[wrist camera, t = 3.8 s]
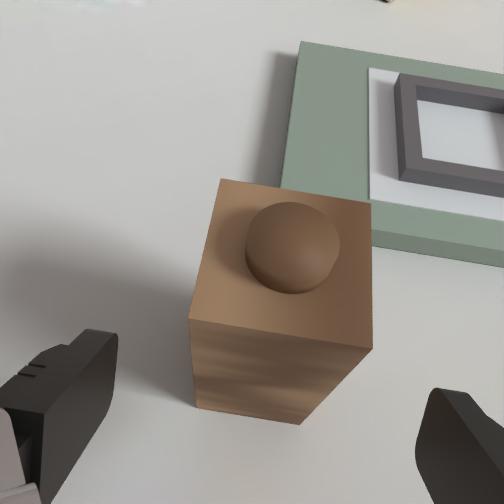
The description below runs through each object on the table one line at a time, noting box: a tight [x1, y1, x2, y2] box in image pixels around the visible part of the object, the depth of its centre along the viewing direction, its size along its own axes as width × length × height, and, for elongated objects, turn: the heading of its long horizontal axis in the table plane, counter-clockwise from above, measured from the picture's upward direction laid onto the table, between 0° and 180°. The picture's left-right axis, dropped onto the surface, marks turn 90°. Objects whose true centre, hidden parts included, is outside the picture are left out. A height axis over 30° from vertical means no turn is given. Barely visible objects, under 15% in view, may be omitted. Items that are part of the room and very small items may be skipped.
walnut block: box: [188, 178, 373, 425], centre depth 16 cm, size 5×5×11 cm
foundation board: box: [280, 41, 504, 267], centre depth 28 cm, size 22×16×3 cm
